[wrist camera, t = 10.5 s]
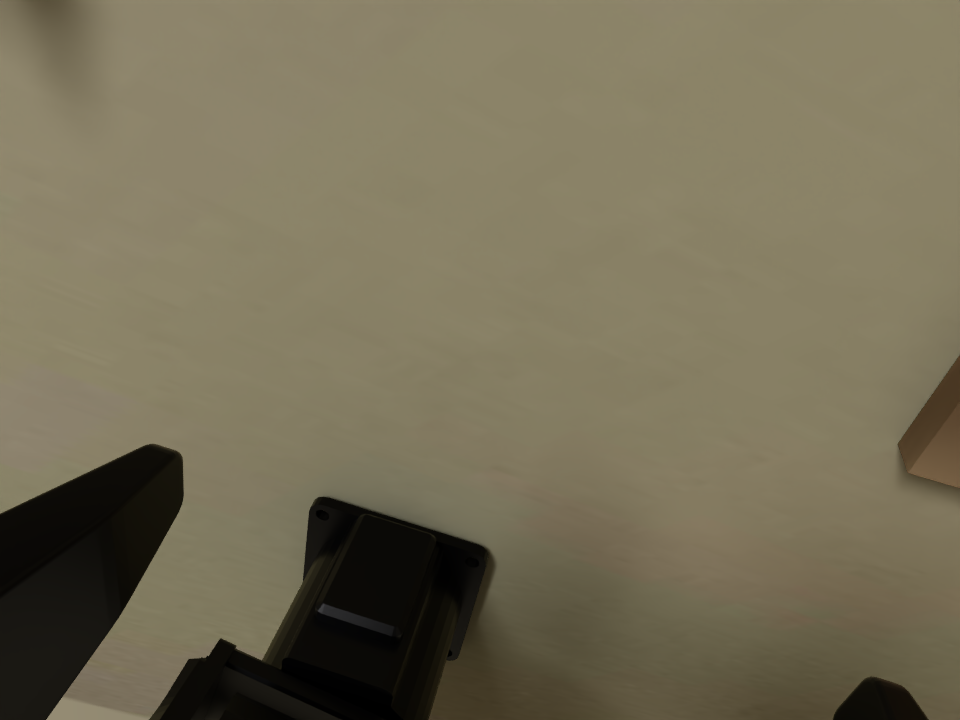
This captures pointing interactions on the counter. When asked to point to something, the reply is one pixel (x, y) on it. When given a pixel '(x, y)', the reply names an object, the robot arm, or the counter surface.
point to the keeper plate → (936, 434)
